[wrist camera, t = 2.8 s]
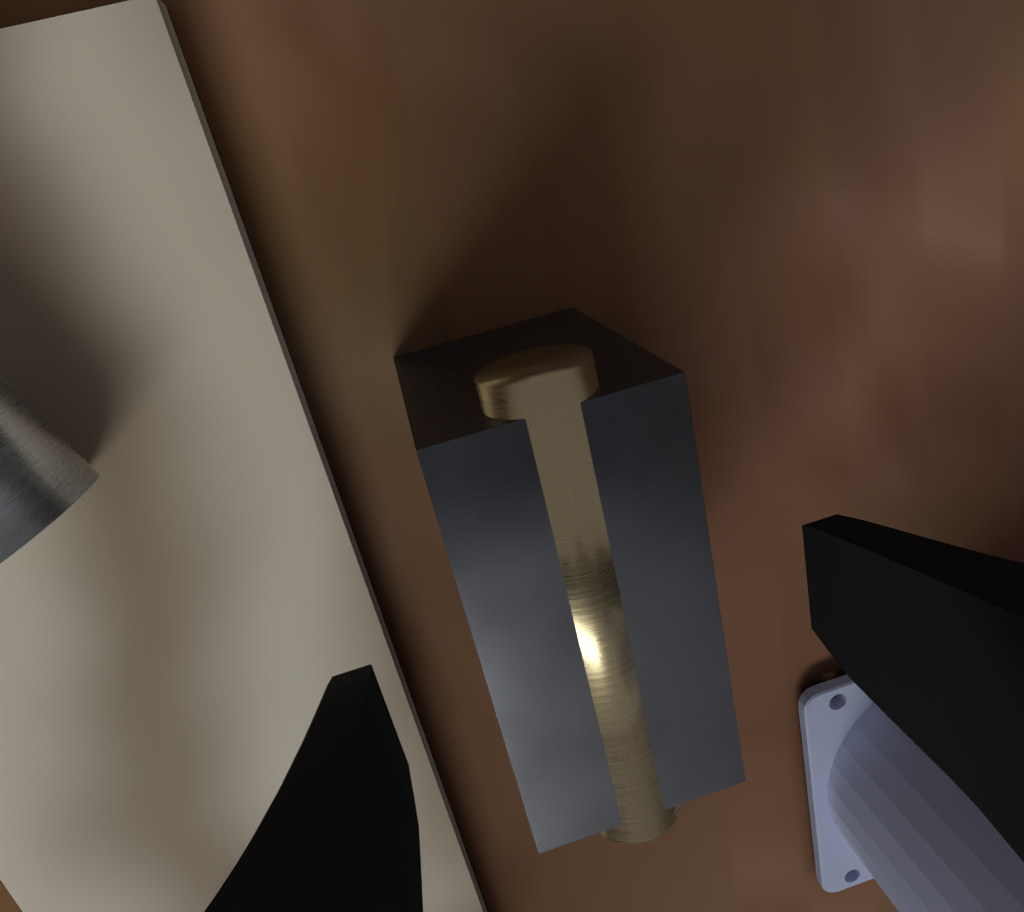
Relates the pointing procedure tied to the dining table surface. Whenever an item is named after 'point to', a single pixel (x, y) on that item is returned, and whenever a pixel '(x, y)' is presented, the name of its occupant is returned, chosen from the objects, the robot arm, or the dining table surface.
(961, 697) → the robot arm
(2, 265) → the board
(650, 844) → the dining table surface
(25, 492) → the angled shaft
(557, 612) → the grey slotted block
